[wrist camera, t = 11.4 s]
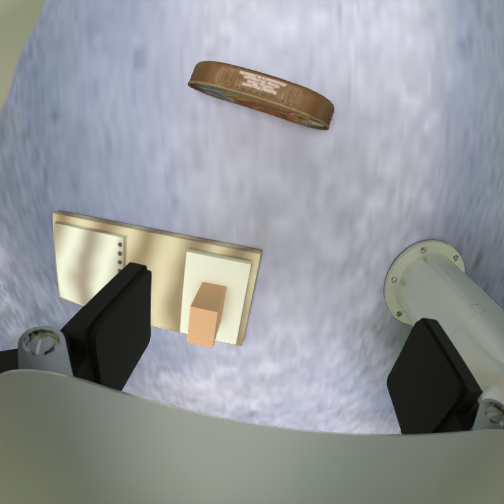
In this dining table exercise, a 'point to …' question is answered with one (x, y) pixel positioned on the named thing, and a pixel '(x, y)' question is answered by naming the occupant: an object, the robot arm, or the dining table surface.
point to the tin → (263, 93)
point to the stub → (213, 297)
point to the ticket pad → (138, 251)
